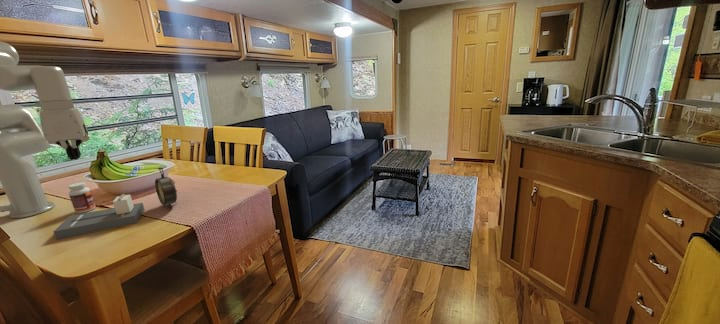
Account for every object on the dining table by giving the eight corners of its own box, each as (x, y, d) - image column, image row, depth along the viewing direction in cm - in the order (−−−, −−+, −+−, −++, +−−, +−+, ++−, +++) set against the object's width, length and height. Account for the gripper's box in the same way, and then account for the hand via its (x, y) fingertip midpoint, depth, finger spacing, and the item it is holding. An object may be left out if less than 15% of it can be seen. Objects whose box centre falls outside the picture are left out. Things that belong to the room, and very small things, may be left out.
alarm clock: (159, 204, 120) (148, 166, 115) (173, 199, 123) (164, 162, 118) (167, 212, 112) (156, 172, 107) (182, 206, 116) (172, 168, 111)
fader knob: (116, 214, 105) (112, 200, 103) (121, 209, 109) (116, 195, 107) (130, 212, 106) (125, 197, 104) (133, 206, 111) (129, 192, 109)
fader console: (56, 239, 96) (53, 231, 96) (72, 223, 107) (69, 215, 106) (136, 223, 105) (134, 215, 104) (144, 209, 115) (142, 202, 114)
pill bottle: (94, 210, 117) (85, 184, 113) (74, 215, 113) (63, 188, 110) (97, 205, 122) (88, 180, 118) (77, 209, 118) (67, 184, 115)
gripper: (20, 108, 90) (41, 164, 96) (82, 105, 96) (98, 159, 102) (34, 105, 97) (52, 158, 103) (91, 103, 103) (106, 153, 108)
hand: (75, 158), depth 102 cm, fingers closed
